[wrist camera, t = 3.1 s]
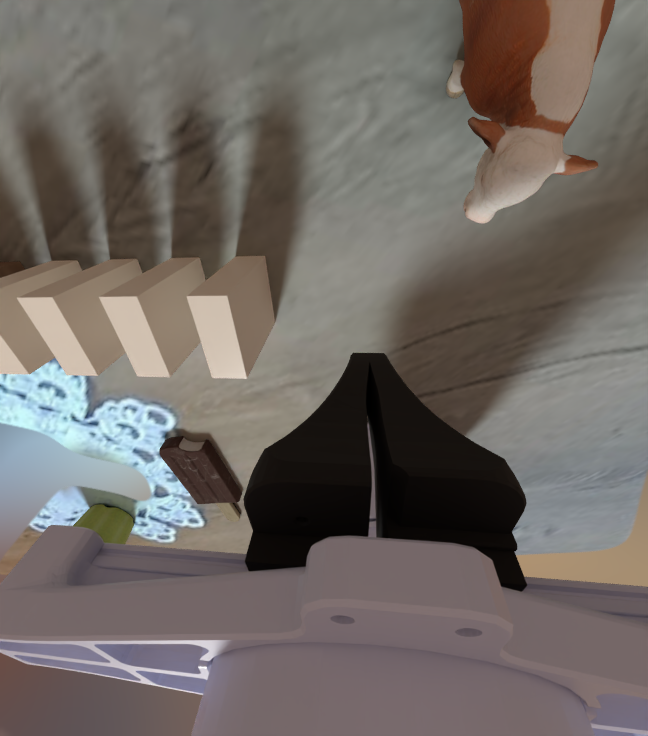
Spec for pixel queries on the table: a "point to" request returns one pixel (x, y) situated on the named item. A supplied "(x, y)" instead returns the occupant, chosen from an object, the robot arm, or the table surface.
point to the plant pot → (107, 523)
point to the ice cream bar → (202, 474)
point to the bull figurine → (525, 91)
